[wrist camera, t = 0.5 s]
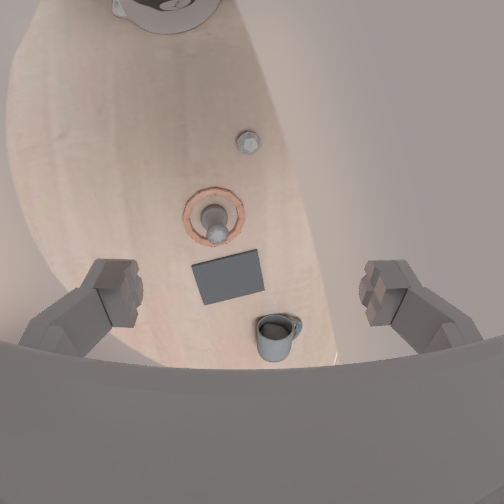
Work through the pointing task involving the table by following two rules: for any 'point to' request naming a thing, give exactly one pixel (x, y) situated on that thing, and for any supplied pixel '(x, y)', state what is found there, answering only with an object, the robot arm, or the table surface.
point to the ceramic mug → (276, 336)
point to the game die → (248, 143)
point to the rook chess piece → (215, 224)
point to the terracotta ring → (206, 193)
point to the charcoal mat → (229, 277)
